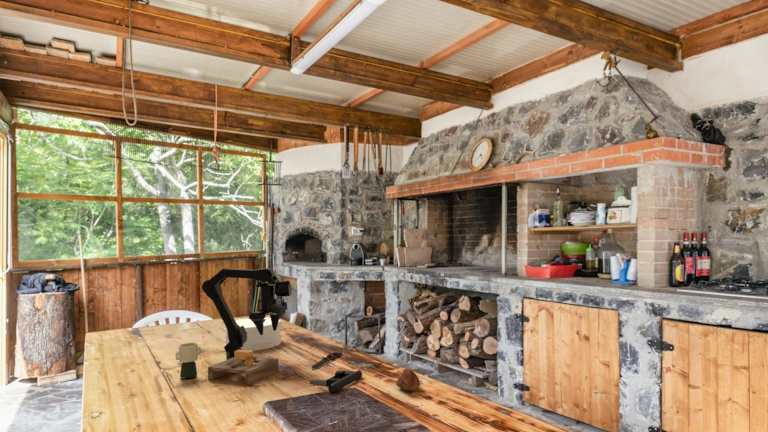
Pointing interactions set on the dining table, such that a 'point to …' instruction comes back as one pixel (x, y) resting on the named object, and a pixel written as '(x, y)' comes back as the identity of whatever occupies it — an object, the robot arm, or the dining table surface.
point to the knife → (326, 360)
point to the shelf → (245, 369)
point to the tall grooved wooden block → (244, 357)
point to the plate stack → (258, 335)
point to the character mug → (188, 359)
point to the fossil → (408, 380)
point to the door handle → (339, 380)
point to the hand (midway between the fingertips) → (268, 332)
